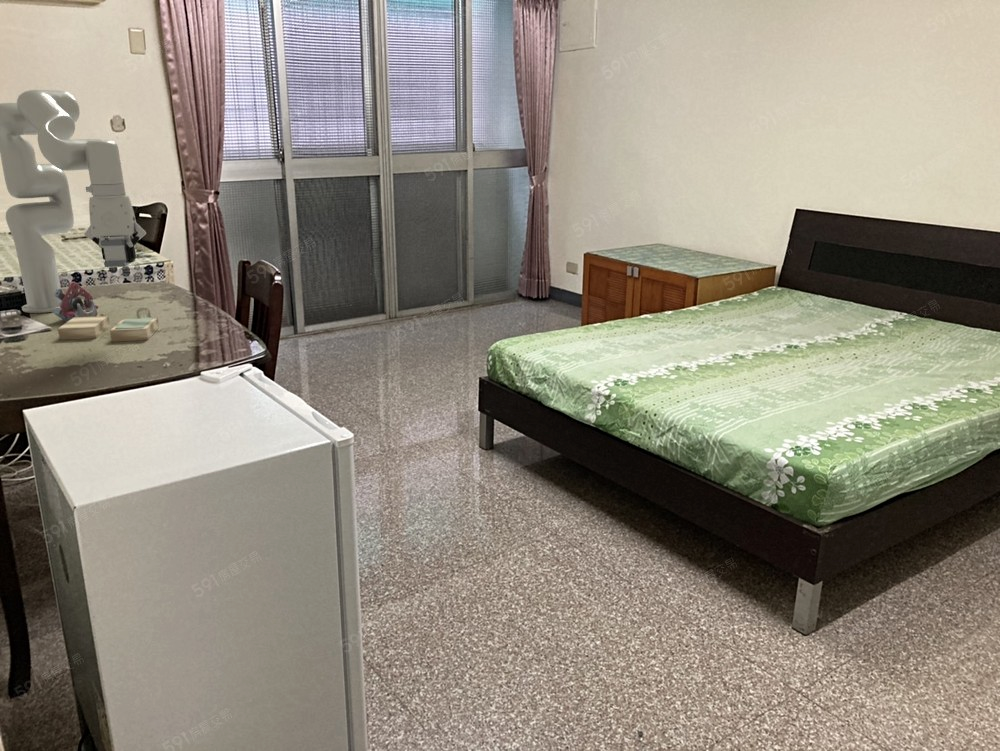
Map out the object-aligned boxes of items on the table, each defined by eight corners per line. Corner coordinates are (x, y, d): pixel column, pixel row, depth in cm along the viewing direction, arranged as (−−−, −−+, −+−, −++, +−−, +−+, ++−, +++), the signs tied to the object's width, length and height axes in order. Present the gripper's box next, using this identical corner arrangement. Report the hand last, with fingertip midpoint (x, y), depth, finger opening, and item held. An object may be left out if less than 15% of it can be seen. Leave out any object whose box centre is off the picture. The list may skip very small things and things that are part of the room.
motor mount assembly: (82, 317, 214) (55, 282, 213) (61, 337, 218) (34, 303, 217) (112, 308, 224) (86, 274, 223) (92, 327, 228) (66, 295, 227)
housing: (115, 260, 204) (111, 236, 201) (135, 260, 204) (131, 235, 202) (104, 267, 195) (100, 241, 193) (125, 266, 196) (121, 240, 194)
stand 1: (75, 327, 212) (73, 317, 211) (110, 326, 214) (108, 316, 213) (59, 339, 201) (57, 328, 200) (96, 338, 203) (94, 327, 202)
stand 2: (124, 329, 211) (123, 318, 210) (159, 328, 212) (157, 316, 211) (111, 341, 200) (109, 329, 199) (147, 339, 201) (146, 328, 200)
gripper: (67, 193, 189) (80, 265, 195) (139, 191, 192) (150, 263, 197) (78, 190, 196) (90, 260, 202) (148, 189, 199) (158, 258, 204)
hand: (120, 261), depth 200 cm, fingers closed on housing, 5 cm apart
